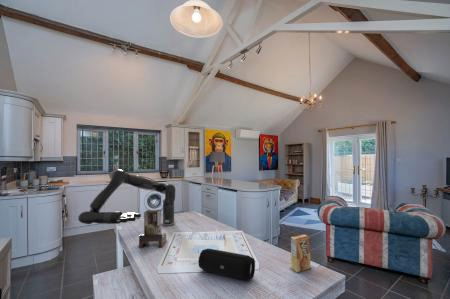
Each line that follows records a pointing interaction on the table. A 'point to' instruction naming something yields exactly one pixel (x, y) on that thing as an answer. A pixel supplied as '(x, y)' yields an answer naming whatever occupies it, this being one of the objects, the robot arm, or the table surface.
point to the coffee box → (152, 222)
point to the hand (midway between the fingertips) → (138, 217)
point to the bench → (152, 239)
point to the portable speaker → (227, 263)
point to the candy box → (300, 253)
